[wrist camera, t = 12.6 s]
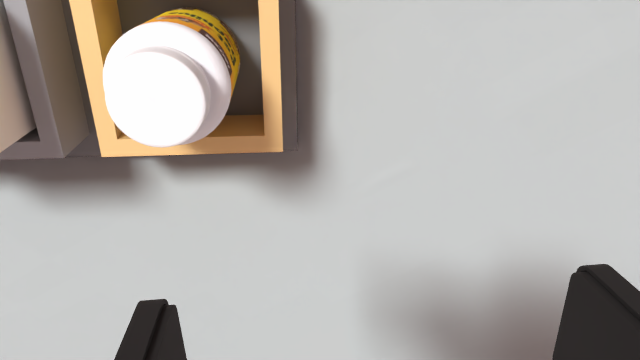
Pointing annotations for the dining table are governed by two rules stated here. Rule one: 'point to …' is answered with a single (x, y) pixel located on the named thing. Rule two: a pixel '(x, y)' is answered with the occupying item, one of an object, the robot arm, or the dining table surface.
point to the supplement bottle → (171, 77)
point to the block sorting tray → (87, 77)
